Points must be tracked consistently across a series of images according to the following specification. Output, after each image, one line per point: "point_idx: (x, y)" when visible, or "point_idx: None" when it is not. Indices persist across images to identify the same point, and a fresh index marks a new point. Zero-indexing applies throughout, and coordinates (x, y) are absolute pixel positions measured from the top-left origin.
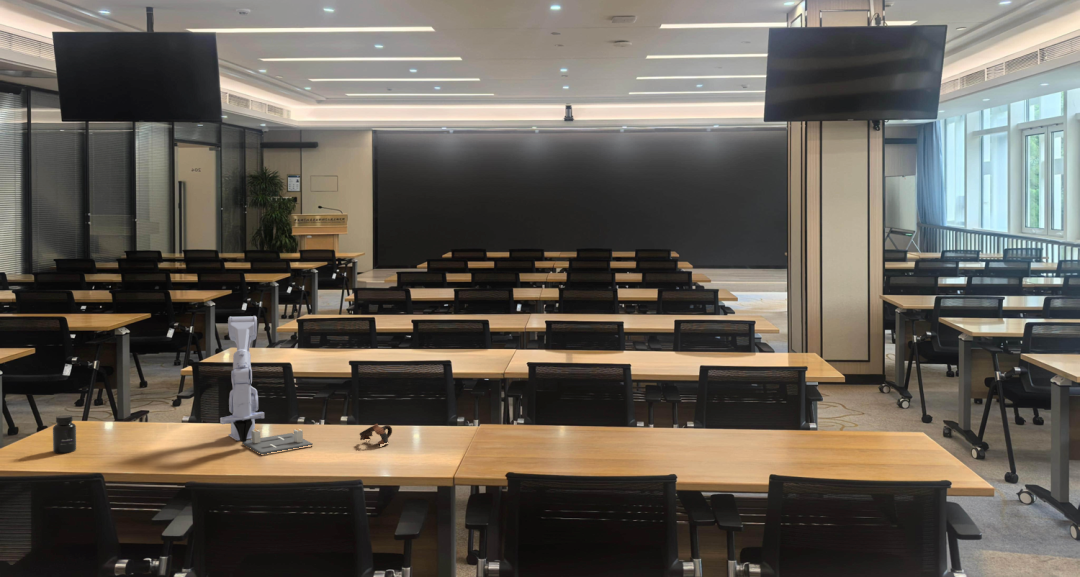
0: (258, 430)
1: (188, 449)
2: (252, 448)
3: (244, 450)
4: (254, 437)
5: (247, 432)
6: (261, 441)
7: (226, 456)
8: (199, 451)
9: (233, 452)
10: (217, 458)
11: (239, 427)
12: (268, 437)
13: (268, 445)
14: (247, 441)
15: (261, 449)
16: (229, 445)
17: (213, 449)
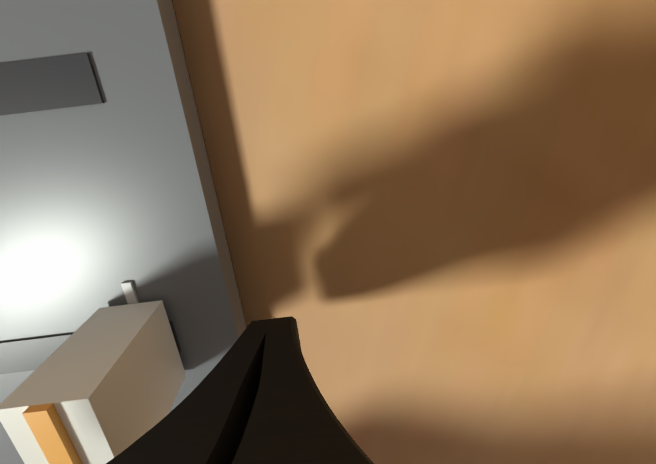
0: (25, 457)
1: (641, 448)
2: (208, 190)
3: (287, 226)
4: (133, 347)
5: (200, 391)
6: None
7: (505, 92)
8: (611, 371)
9: (398, 209)
10: (608, 62)
11: (355, 457)
12: None
13: (11, 164)
14: None
15: (105, 6)
16: (363, 425)
17: (504, 377)
